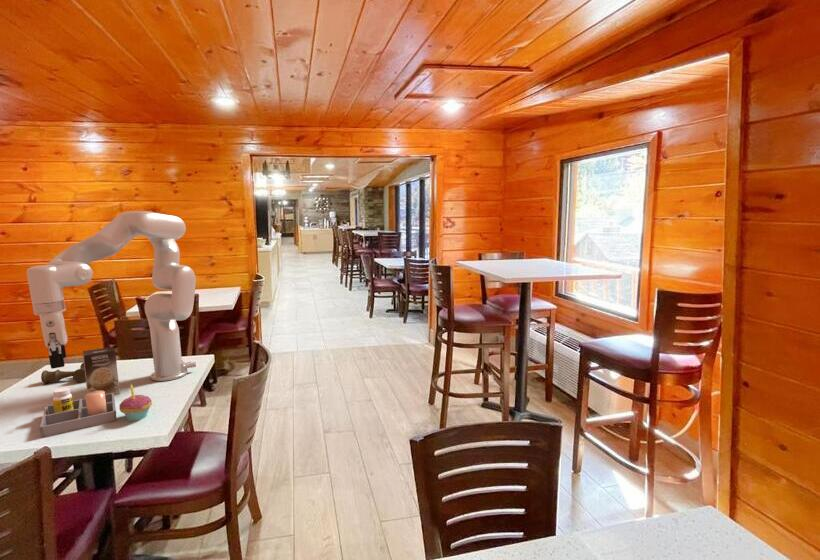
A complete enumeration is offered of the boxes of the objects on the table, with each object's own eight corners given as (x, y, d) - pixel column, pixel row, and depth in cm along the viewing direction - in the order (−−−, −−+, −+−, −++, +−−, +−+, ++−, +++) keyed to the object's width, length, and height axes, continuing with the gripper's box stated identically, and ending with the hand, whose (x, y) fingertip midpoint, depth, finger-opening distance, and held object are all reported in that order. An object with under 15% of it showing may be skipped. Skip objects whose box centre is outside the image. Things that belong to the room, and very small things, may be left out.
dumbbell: (50, 380, 179) (109, 372, 185) (38, 390, 170) (101, 381, 176) (47, 365, 178) (107, 357, 184) (35, 374, 169) (99, 366, 175)
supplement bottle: (64, 420, 141) (60, 393, 140) (51, 418, 142) (47, 392, 141) (78, 413, 146) (74, 387, 144) (65, 412, 146) (62, 386, 145)
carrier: (115, 402, 155) (113, 392, 154) (117, 422, 140) (115, 411, 139) (47, 416, 145) (45, 406, 144) (41, 439, 130) (39, 427, 130)
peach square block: (107, 414, 144) (104, 389, 143) (107, 419, 140) (104, 394, 139) (88, 418, 142) (85, 392, 141) (88, 424, 138) (85, 398, 137)
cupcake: (149, 422, 139) (145, 384, 137) (116, 427, 137) (112, 387, 135) (156, 411, 147) (152, 374, 145) (125, 415, 145) (120, 377, 143)
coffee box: (88, 402, 155) (82, 355, 153) (87, 396, 160) (81, 351, 158) (120, 395, 161) (115, 350, 158) (119, 390, 166) (113, 345, 163)
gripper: (63, 310, 133) (73, 368, 136) (66, 300, 148) (75, 352, 151) (29, 315, 129) (40, 374, 132) (36, 304, 144) (45, 357, 147)
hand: (59, 362), depth 142 cm, fingers open, 9 cm apart
